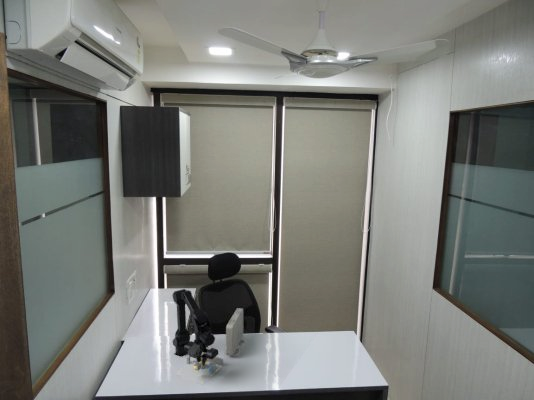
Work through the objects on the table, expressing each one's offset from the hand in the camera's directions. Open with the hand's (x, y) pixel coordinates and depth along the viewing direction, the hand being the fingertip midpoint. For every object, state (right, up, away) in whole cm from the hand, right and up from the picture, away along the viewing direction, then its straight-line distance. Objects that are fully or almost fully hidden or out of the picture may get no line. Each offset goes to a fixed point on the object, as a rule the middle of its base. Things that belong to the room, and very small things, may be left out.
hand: (201, 364), depth 184 cm
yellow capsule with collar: (0, 0, 0) cm, 0 cm away
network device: (+15, -3, +28) cm, 32 cm away
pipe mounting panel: (-2, -6, +5) cm, 8 cm away
